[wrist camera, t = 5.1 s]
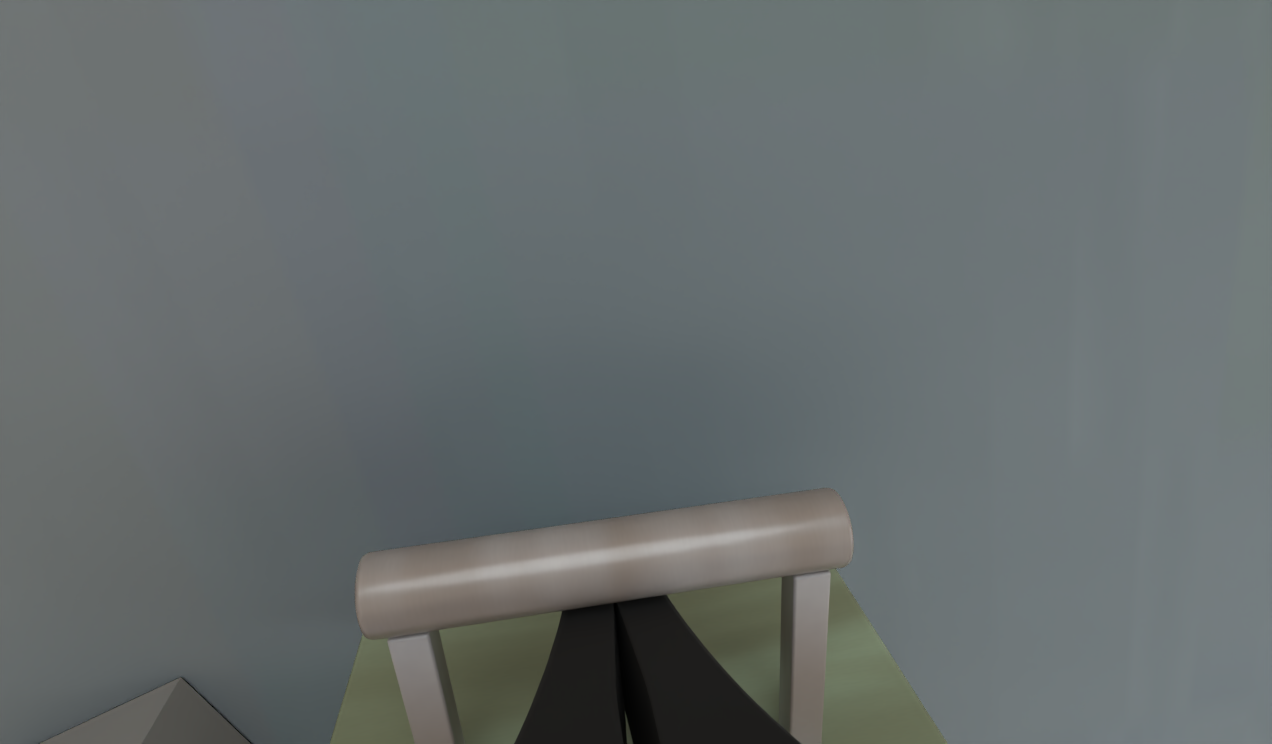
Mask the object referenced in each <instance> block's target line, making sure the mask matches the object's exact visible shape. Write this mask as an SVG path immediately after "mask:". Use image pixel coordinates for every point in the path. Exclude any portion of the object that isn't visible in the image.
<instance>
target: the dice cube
mask: <svg viewBox="0 0 1272 744" xmlns="http://www.w3.org/2000/svg"><path fill="white" fill-rule="evenodd" d="M40 744H250V743H249V742H248V741H247V740H246V739H245V738H244V737H243V736H242V735H241V734H240V733H239V732H238V731H237V730H236V729H235V728H234V727H233V726H232V725H230V724H229V723H228V722H227V721H226V720H225V719H224V718H223V717H222V716H221V715H220V714H219V713H218V712H217V711H216V710H215V709H214V708H213V707H212V706H211V705H209V704H208V703H207V702H206V701H205V700H204V699H203V698H202V697H201V696H200V695H199V694H198V693H197V692H196V691H195V690H194V689H193V688H192V687H191V686H190V685H189V684H187V683H186V682H185V681H184V680H183V679H182V678H181V677H180V678H178V679H176V680H174V681H172V682H169V683H167V684H165V685H163V686H161V687H159V688H157V689H154V690H152V691H150V692H148V693H146V694H144V695H142V696H140V697H137V698H135V699H133V700H131V701H129V702H127V703H125V704H123V705H120V706H118V707H116V708H114V709H112V710H110V711H108V712H106V713H103V714H101V715H99V716H97V717H95V718H93V719H91V720H89V721H86V722H84V723H82V724H80V725H78V726H76V727H74V728H71V729H69V730H67V731H65V732H63V733H61V734H59V735H57V736H54V737H52V738H50V739H48V740H46V741H44V742H42V743H40Z"/></svg>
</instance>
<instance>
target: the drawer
mask: <svg viewBox="0 0 1272 744" xmlns="http://www.w3.org/2000/svg"><path fill="white" fill-rule="evenodd" d="M853 548H854V543H853V532H852V526H851V521H850V518H849V515H848V512H847V509H846V506H845V504H844V502H843V500H842V498H841V497H840V495H839V494H838V493H837V492H836V491H835V490H833V489H830V488H820V489H813V490H806V491H799V492H792V493H785V494H778V495H771V496H764V497H756V498H749V499H742V500H735V501H728V502H721V503H714V504H707V505H700V506H693V507H686V508H679V509H672V510H664V511H657V512H650V513H643V514H636V515H629V516H622V517H615V518H608V519H601V520H594V521H587V522H580V523H572V524H565V525H558V526H551V527H544V528H537V529H530V530H523V531H516V532H509V533H502V534H495V535H488V536H480V537H473V538H466V539H459V540H452V541H445V542H438V543H431V544H424V545H417V546H410V547H403V548H396V549H388V550H381V551H374V552H369V553H367V554H365V555H364V556H363V557H362V558H361V560H360V562H359V565H358V569H357V574H356V580H355V607H356V614H357V619H358V623H359V626H360V629H361V631H362V633H363V635H362V638H361V641H360V645H359V648H358V651H357V655H356V658H355V661H354V665H353V668H352V671H351V675H350V678H349V681H348V685H347V688H346V691H345V694H344V698H343V701H342V704H341V708H340V711H339V714H338V718H337V721H336V724H335V728H334V731H333V734H332V738H331V741H330V744H514V743H515V741H516V739H517V736H518V734H519V732H520V730H521V728H522V725H523V723H524V721H525V719H526V716H527V714H528V712H529V709H530V707H531V704H532V702H533V699H534V697H535V694H536V691H537V689H538V686H539V684H540V681H541V678H542V676H543V673H544V671H545V668H546V665H547V662H548V659H549V656H550V652H551V649H552V646H553V643H554V639H555V636H556V633H557V630H558V626H559V622H560V618H561V614H562V611H565V610H571V609H578V608H584V607H591V606H597V605H604V604H610V603H617V602H623V601H630V600H636V599H642V598H649V597H655V596H662V595H667V596H668V598H669V599H670V601H671V602H672V604H673V605H674V607H675V608H676V610H677V611H678V612H679V614H680V615H681V616H682V618H683V619H684V621H685V622H686V623H687V624H688V626H689V627H690V628H691V630H692V631H693V632H694V633H695V635H696V636H697V637H698V639H699V640H700V641H701V642H702V644H703V645H704V646H705V647H706V648H707V650H708V651H709V652H710V653H711V654H712V656H713V657H714V658H715V659H716V660H717V661H718V663H719V664H720V665H721V666H722V667H723V668H724V669H725V670H726V671H727V673H728V674H729V675H730V676H731V677H732V678H733V679H734V680H735V681H736V682H737V683H738V685H739V686H740V687H741V688H742V689H743V690H744V691H745V692H746V693H747V694H748V695H749V696H750V697H751V698H752V699H753V700H754V701H755V702H756V703H757V704H758V705H759V706H760V707H761V708H762V709H763V710H765V711H766V712H767V713H768V714H769V715H770V716H771V717H772V718H773V719H774V720H775V721H776V722H777V723H779V724H780V725H781V726H782V727H783V728H784V729H785V730H786V731H788V732H789V733H790V734H791V735H792V736H793V737H794V738H795V739H797V740H798V741H799V742H800V743H801V744H947V742H946V740H945V739H944V737H943V736H942V734H941V733H940V731H939V729H938V728H937V726H936V725H935V723H934V722H933V720H932V719H931V717H930V715H929V714H928V712H927V711H926V709H925V708H924V706H923V704H922V703H921V701H920V700H919V698H918V697H917V695H916V694H915V692H914V690H913V689H912V687H911V686H910V684H909V683H908V681H907V679H906V678H905V676H904V675H903V673H902V672H901V670H900V669H899V667H898V665H897V664H896V662H895V661H894V659H893V658H892V656H891V654H890V653H889V651H888V650H887V648H886V647H885V645H884V644H883V642H882V640H881V639H880V637H879V636H878V634H877V633H876V631H875V629H874V628H873V626H872V625H871V623H870V622H869V620H868V619H867V617H866V615H865V614H864V612H863V611H862V609H861V608H860V606H859V604H858V603H857V601H856V600H855V598H854V597H853V595H852V594H851V592H850V590H849V589H848V587H847V586H846V584H845V583H844V581H843V579H842V578H841V576H840V575H839V573H838V572H837V570H836V568H843V567H845V566H847V565H848V564H849V563H850V562H851V560H852V556H853ZM625 718H626V735H627V744H633V741H632V737H631V733H630V729H629V725H628V721H627V716H626V712H625Z"/></svg>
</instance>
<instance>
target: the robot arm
mask: <svg viewBox="0 0 1272 744" xmlns="http://www.w3.org/2000/svg"><path fill="white" fill-rule="evenodd" d="M625 712H626V716H627V721H628V725H629V729H630V733H631V737H632V741H633V744H801V743H800V742H799V741H798V740H797V739H795V738H794V737H793V736H792V735H791V734H790V733H789V732H788V731H786V730H785V729H784V728H783V727H782V726H781V725H780V724H779V723H777V722H776V721H775V720H774V719H773V718H772V717H771V716H770V715H769V714H768V713H767V712H766V711H765V710H763V709H762V708H761V707H760V706H759V705H758V704H757V703H756V702H755V701H754V700H753V699H752V698H751V697H750V696H749V695H748V694H747V693H746V692H745V691H744V690H743V689H742V688H741V687H740V686H739V685H738V683H737V682H736V681H735V680H734V679H733V678H732V677H731V676H730V675H729V674H728V673H727V671H726V670H725V669H724V668H723V667H722V666H721V665H720V664H719V663H718V661H717V660H716V659H715V658H714V657H713V656H712V654H711V653H710V652H709V651H708V650H707V648H706V647H705V646H704V645H703V644H702V642H701V641H700V640H699V639H698V637H697V636H696V635H695V633H694V632H693V631H692V630H691V628H690V627H689V626H688V624H687V623H686V622H685V621H684V619H683V618H682V616H681V615H680V614H679V612H678V611H677V610H676V608H675V607H674V605H673V604H672V602H671V601H670V599H669V598H668V596H667V595H662V596H655V597H649V598H642V599H636V600H630V601H623V602H617V603H610V604H604V605H597V606H591V607H584V608H578V609H571V610H565V611H562V614H561V618H560V622H559V626H558V630H557V633H556V636H555V639H554V643H553V646H552V649H551V652H550V656H549V659H548V662H547V665H546V668H545V671H544V673H543V676H542V678H541V681H540V684H539V686H538V689H537V691H536V694H535V697H534V699H533V702H532V704H531V707H530V709H529V712H528V714H527V716H526V719H525V721H524V723H523V725H522V728H521V730H520V732H519V734H518V736H517V739H516V741H515V743H514V744H627V735H626V718H625Z"/></svg>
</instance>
